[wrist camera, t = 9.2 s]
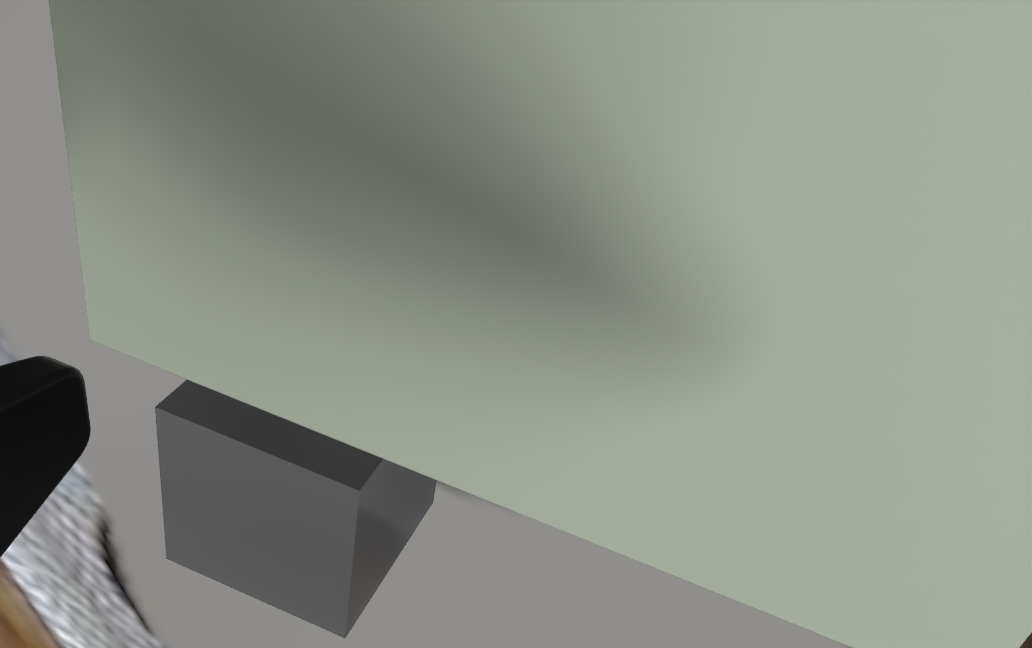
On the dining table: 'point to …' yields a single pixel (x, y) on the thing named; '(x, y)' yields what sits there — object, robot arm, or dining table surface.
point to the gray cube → (281, 506)
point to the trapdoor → (604, 268)
